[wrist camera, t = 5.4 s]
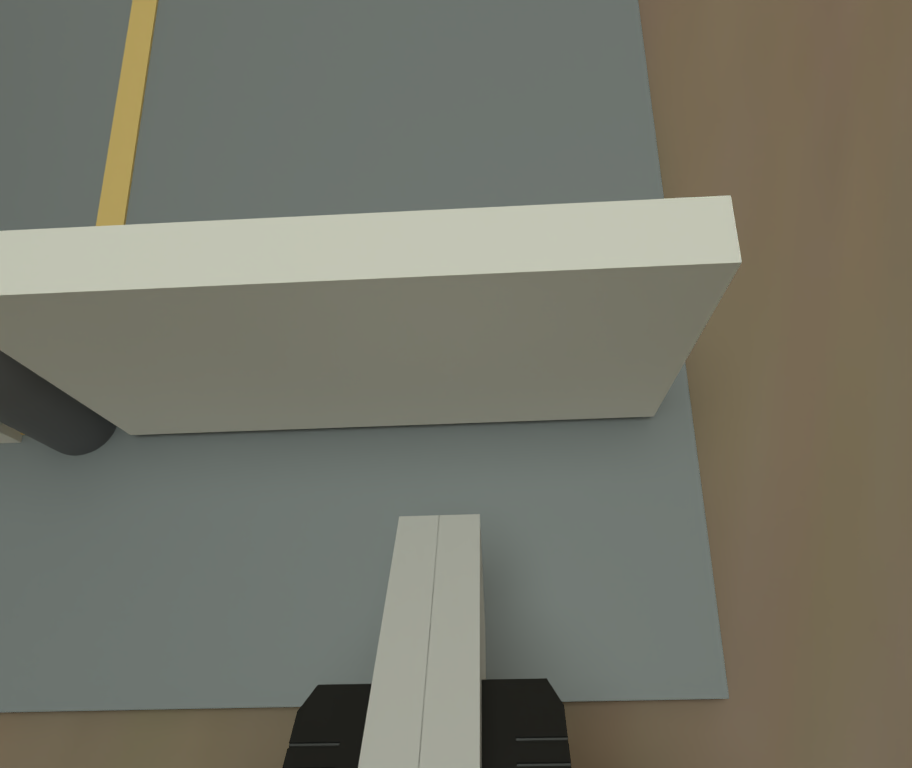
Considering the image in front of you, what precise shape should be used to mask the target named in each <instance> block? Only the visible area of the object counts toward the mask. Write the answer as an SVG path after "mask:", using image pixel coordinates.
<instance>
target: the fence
mask: <svg viewBox="0 0 912 768" xmlns="http://www.w3.org/2000/svg"><path fill="white" fill-rule="evenodd" d="M116 427H117V426H116V425H114V424H113V423H111V422H110V421H108V420H107V419H105V418H103V417H102V416H100V415H99V414H97V413H96V412H94V411H93V410H91V409H90V408H88V407H87V406H85V405H84V404H82V403H80V402H79V401H77V400H76V399H74V398H73V397H71V396H70V395H68V394H67V393H65V392H64V391H62V390H60V389H59V388H57V387H56V386H54V385H53V384H51V383H50V382H48V381H47V380H45V379H44V378H42V377H41V376H39V375H37V374H36V373H34V372H33V371H31V370H30V369H28V368H27V367H25V366H24V365H22V364H21V363H19V362H17V361H16V360H14V359H13V358H11V357H10V356H8V355H7V354H5V353H4V352H2V351H1V350H0V443H21V440H22V435H21V434H20V432H21V433H23V434H25V435H27V436H28V437H30V438H32V439H34V440H36V441H38V442H40V443H42V444H44V445H46V446H48V447H50V448H52V449H54V450H56V451H58V452H60V453H62V454H65V455H71V456H78V455H84V454H88V453H90V452H93V451H95V450H97V449H98V448H100V447H101V446H102V445H104V444H105V443H106V442H107V441H108V440H109V439H110V437H111V436H112V435H113V433H114V431H115V429H116Z"/></svg>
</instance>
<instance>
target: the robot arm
mask: <svg viewBox="0 0 912 768" xmlns="http://www.w3.org/2000/svg"><path fill="white" fill-rule="evenodd" d="M283 768H571V760H570V752H569V744H568V736H567V728H566V720H565V711H564V705H563V703H562V701H561V700H560V698H559V697H558V695H557V694H556V692H555V691H554V689H553V687H552V686H551V684H550V683H549V681H548V680H547V678H539V679H486V650H485V612H484V591H483V570H482V549H481V528H480V514H464V515H429V516H399V521H398V527H397V533H396V539H395V545H394V551H393V557H392V563H391V569H390V575H389V581H388V588H387V594H386V600H385V606H384V612H383V618H382V624H381V630H380V636H379V642H378V648H377V655H376V661H375V667H374V673H373V679H372V684H325V685H317V686H316V688H315V689H314V690H313V692H312V693H311V694H310V696H309V697H308V698H307V700H306V701H305V702H304V704H303V705H302V706H301V707H300V709H299V710H298V711H297V715H296V719H295V723H294V726H293V730H292V734H291V738H290V742H289V748H288V749H287V753H286V757H285V760H284V764H283Z"/></svg>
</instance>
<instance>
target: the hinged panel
mask: <svg viewBox="0 0 912 768" xmlns="http://www.w3.org/2000/svg"><path fill="white" fill-rule="evenodd" d="M741 263H742V261H741V255H740V249H739V243H738V237H737V231H736V225H735V219H734V213H733V207H732V201H731V196H711V197H690V198H669V199H649V200H628V201H607V202H587V203H566V204H545V205H524V206H504V207H483V208H462V209H442V210H421V211H400V212H380V213H359V214H338V215H317V216H297V217H276V218H255V219H235V220H214V221H193V222H173V223H152V224H131V225H110V226H90V227H69V228H48V229H28V230H7V231H0V350H1V351H2V352H4V353H5V354H7V355H8V356H10V357H11V358H13V359H14V360H16V361H17V362H19V363H21V364H22V365H24V366H25V367H27V368H28V369H30V370H31V371H33V372H34V373H36V374H37V375H39V376H41V377H42V378H44V379H45V380H47V381H48V382H50V383H51V384H53V385H54V386H56V387H57V388H59V389H60V390H62V391H64V392H65V393H67V394H68V395H70V396H71V397H73V398H74V399H76V400H77V401H79V402H80V403H82V404H84V405H85V406H87V407H88V408H90V409H91V410H93V411H94V412H96V413H97V414H99V415H100V416H102V417H103V418H105V419H107V420H108V421H110V422H111V423H113V424H114V425H116V426H117V427H119V428H120V429H122V430H123V431H125V432H127V433H128V434H130V435H147V434H175V433H203V432H231V431H259V430H288V429H316V428H344V427H372V426H400V425H428V424H456V423H484V422H513V421H541V420H569V419H597V418H625V417H653V416H654V415H655V413H656V412H657V410H658V408H659V406H660V405H661V403H662V401H663V399H664V398H665V396H666V394H667V392H668V391H669V389H670V387H671V385H672V384H673V382H674V380H675V378H676V377H677V375H678V373H679V371H680V370H681V368H682V366H683V364H684V363H685V361H686V359H687V357H688V356H689V354H690V352H691V350H692V349H693V347H694V345H695V343H696V342H697V340H698V338H699V336H700V335H701V333H702V331H703V329H704V328H705V326H706V324H707V322H708V321H709V319H710V317H711V315H712V314H713V312H714V310H715V308H716V307H717V305H718V303H719V301H720V300H721V298H722V296H723V294H724V293H725V291H726V289H727V287H728V286H729V284H730V282H731V280H732V279H733V277H734V275H735V273H736V272H737V270H738V268H739V266H740V265H741Z"/></svg>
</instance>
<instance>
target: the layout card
mask: <svg viewBox="0 0 912 768" xmlns="http://www.w3.org/2000/svg"><path fill="white" fill-rule="evenodd" d="M649 199H664V196H663V189H662V181H661V173H660V166H659V158H658V150H657V143H656V135H655V127H654V120H653V112H652V104H651V97H650V89H649V81H648V74H647V66H646V58H645V51H644V43H643V35H642V28H641V20H640V12H639V5H638V0H0V231H7V230H28V229H48V228H69V227H90V226H110V225H131V224H152V223H173V222H193V221H214V220H235V219H255V218H276V217H297V216H317V215H338V214H359V213H380V212H400V211H421V210H442V209H462V208H483V207H504V206H524V205H545V204H566V203H587V202H607V201H628V200H649ZM20 434H21V435H22V440H21V443H0V712H44V711H97V710H150V709H203V708H256V707H301V706H302V705H303V704H304V702H305V701H306V700H307V698H308V697H309V696H310V694H311V693H312V692H313V690H314V689H315V688H316V686H317V685H325V684H372V679H373V673H374V667H375V661H376V655H377V648H378V642H379V636H380V630H381V624H382V618H383V612H384V606H385V600H386V594H387V588H388V581H389V575H390V569H391V563H392V557H393V551H394V545H395V539H396V533H397V527H398V521H399V516H429V515H464V514H480V528H481V549H482V570H483V591H484V612H485V650H486V679H539V678H547V680H548V681H549V683H550V684H551V686H552V687H553V689H554V691H555V692H556V694H557V695H558V697H559V698H560V700H561V701H562V702H573V701H626V700H679V699H729V694H728V687H727V679H726V671H725V664H724V656H723V648H722V641H721V633H720V625H719V618H718V610H717V602H716V595H715V587H714V579H713V572H712V564H711V557H710V549H709V541H708V534H707V526H706V518H705V511H704V503H703V495H702V488H701V480H700V472H699V465H698V457H697V449H696V442H695V434H694V426H693V419H692V411H691V403H690V396H689V388H688V380H687V373H686V365H685V363H684V364H683V366H682V368H681V370H680V371H679V373H678V375H677V377H676V378H675V380H674V382H673V384H672V385H671V387H670V389H669V391H668V392H667V394H666V396H665V398H664V399H663V401H662V403H661V405H660V406H659V408H658V410H657V412H656V413H655V415H654V416H653V417H625V418H597V419H569V420H541V421H513V422H484V423H456V424H428V425H400V426H372V427H344V428H316V429H288V430H259V431H231V432H203V433H175V434H147V435H130V434H128V433H127V432H125V431H123V430H122V429H120V428H119V427H116V429H115V431H114V433H113V435H112V436H111V437H110V439H109V440H108V441H107V442H106V443H105V444H104V445H102V446H101V447H100V448H98V449H97V450H95V451H93V452H90V453H88V454H84V455H78V456H71V455H65V454H62V453H60V452H58V451H56V450H54V449H52V448H50V447H48V446H46V445H44V444H42V443H40V442H38V441H36V440H34V439H32V438H30V437H28V436H27V435H25V434H23V433H21V432H20Z"/></svg>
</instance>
